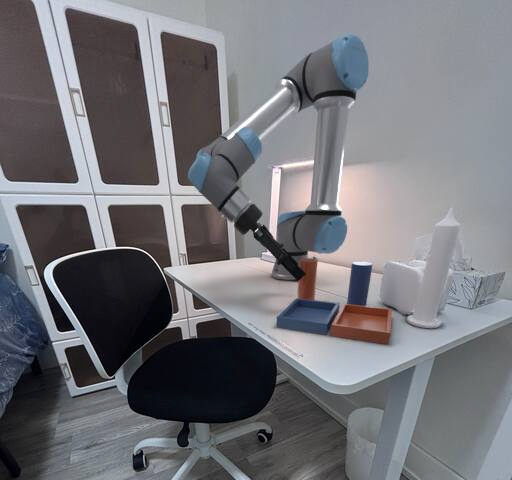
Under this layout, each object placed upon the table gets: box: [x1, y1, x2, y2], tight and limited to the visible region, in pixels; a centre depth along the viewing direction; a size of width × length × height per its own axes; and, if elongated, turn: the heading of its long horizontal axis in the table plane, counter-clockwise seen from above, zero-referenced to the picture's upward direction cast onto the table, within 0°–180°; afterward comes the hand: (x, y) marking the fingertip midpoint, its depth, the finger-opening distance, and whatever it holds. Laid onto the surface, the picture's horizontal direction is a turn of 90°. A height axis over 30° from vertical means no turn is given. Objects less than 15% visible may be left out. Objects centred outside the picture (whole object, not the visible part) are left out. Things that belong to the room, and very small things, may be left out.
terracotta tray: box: [330, 303, 393, 346], centre depth 67 cm, size 16×12×3 cm
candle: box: [406, 206, 461, 329], centre depth 64 cm, size 7×7×25 cm
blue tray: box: [276, 297, 340, 336], centre depth 71 cm, size 16×12×3 cm
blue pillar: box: [346, 261, 374, 306], centre depth 76 cm, size 5×5×12 cm
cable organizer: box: [378, 259, 455, 316], centre depth 77 cm, size 15×11×12 cm
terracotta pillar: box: [296, 258, 319, 300], centre depth 82 cm, size 5×5×12 cm
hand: (298, 271), depth 80 cm, fingers open, 13 cm apart
